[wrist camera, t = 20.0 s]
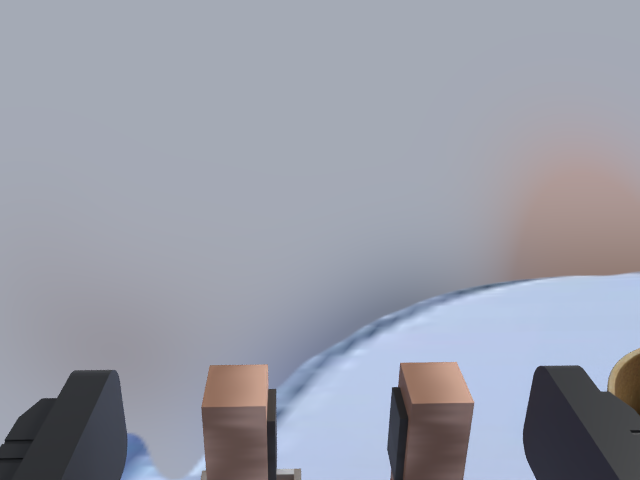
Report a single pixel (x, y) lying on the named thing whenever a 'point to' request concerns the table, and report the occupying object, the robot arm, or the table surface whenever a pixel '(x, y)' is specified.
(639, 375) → the plant pot
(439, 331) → the table surface
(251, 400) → the tall copper pillar
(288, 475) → the gravestone
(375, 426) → the table surface
